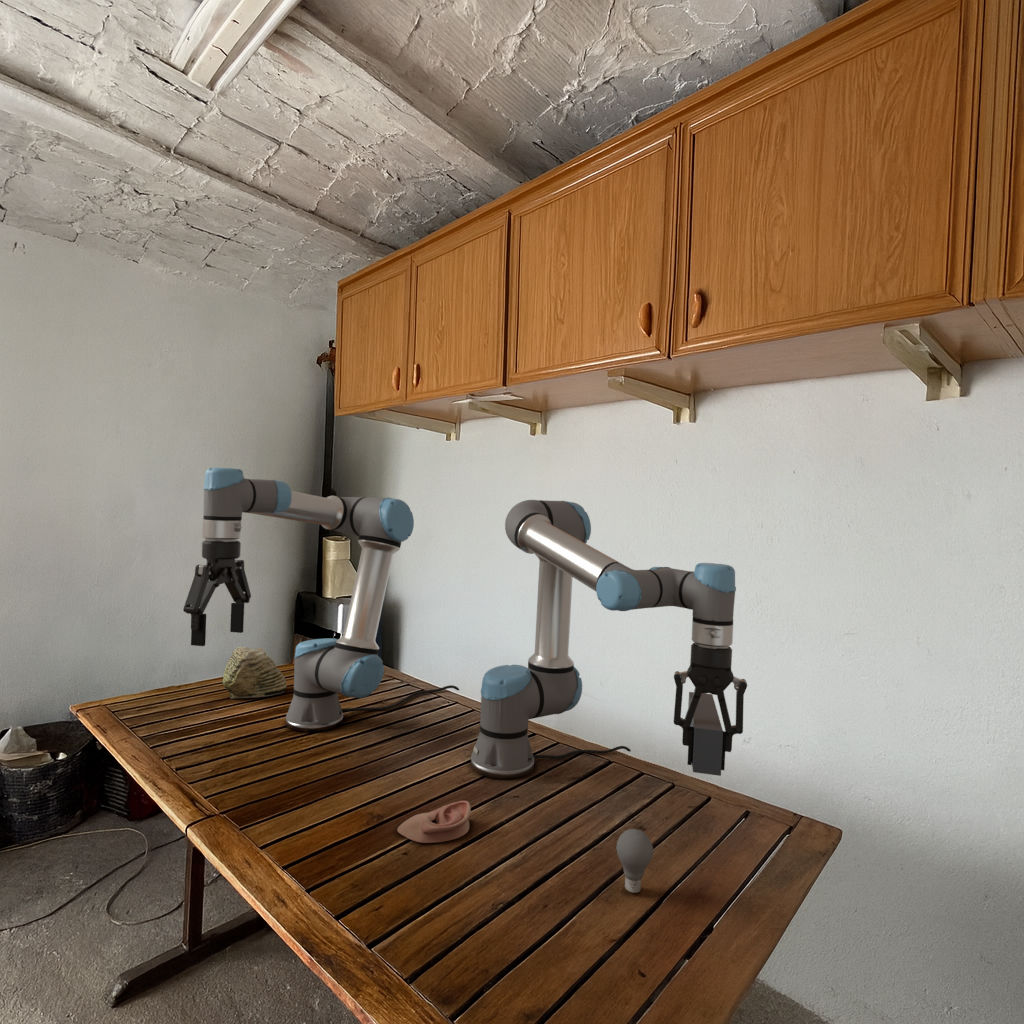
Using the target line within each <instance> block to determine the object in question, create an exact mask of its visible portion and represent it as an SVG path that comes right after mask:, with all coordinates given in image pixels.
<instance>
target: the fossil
mask: <svg viewBox="0 0 1024 1024" xmlns="http://www.w3.org/2000/svg"><path fill="white" fill-rule="evenodd" d="M222 676H223V677H222V685H223V687H224V688H225V690H226V691H228V693H229V698H230V699H250V698H264V697H271V696H275V695H281V694H284V693H285V691H286V689H287V687H288V686H287V680H286V678H285V676H284V674H283V673H282V672H281V669H279V668H278V667H277V665H276V663H275V662H274V660H273V659H272V658H271V657H270V656H269V655H268V654H267V653H266V652H265V650H264V649H263V648H260V647H258V648H251V647H247V646H246V647H245V646H238V647H237V648H236V649H235V650H233V651H232V653H231V656H230V657H229V659H228V660H227V663H226V666H225V668H224V671H223V675H222Z"/></svg>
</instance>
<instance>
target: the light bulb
mask: <svg viewBox="0 0 1024 1024" xmlns="http://www.w3.org/2000/svg"><path fill="white" fill-rule="evenodd" d="M615 849H616V854H617V857H618V859H619V861H620V863H621V865H622V867H623V873H624V874H623V875H624V876H625V878H624V888H625V890H627V891H628V892H630V893H634V894H635V893H639V892H640V891H641V889H642V887H641V886H642V879H643V877H644V875H645V871H646V868H647V867H648V866H649V864H650V863H651V861H652V859H653V855H654V847H653V843H652V841H651V838H649V836H648V835H647V834H646V833H645V832H643V831H642V830H641V829H636V828H629V829H627V830H625V831H623V832H622V833H621V834H620V835H619V837H618V839H617V841H616V847H615Z"/></svg>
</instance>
